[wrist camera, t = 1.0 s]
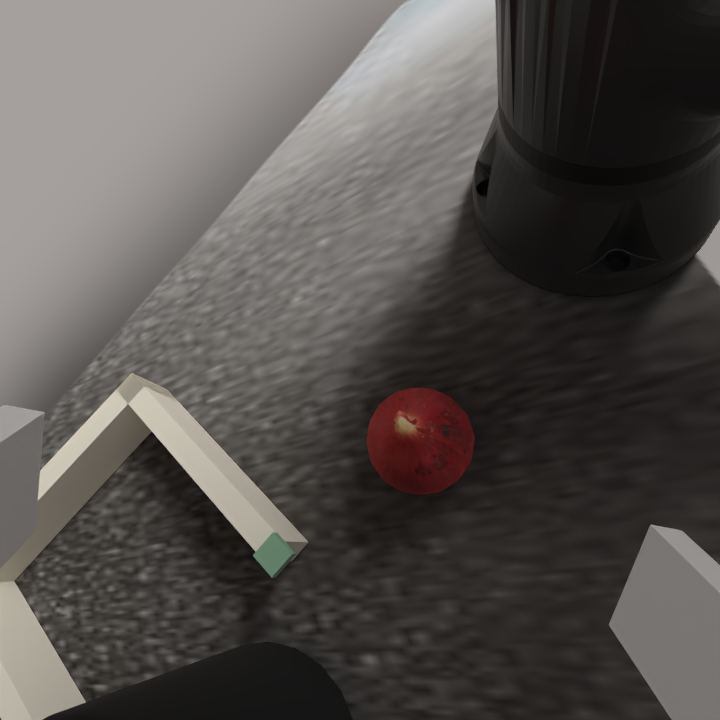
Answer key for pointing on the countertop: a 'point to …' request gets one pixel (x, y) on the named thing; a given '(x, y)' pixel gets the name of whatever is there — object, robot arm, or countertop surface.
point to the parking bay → (72, 491)
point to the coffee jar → (227, 691)
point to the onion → (420, 441)
